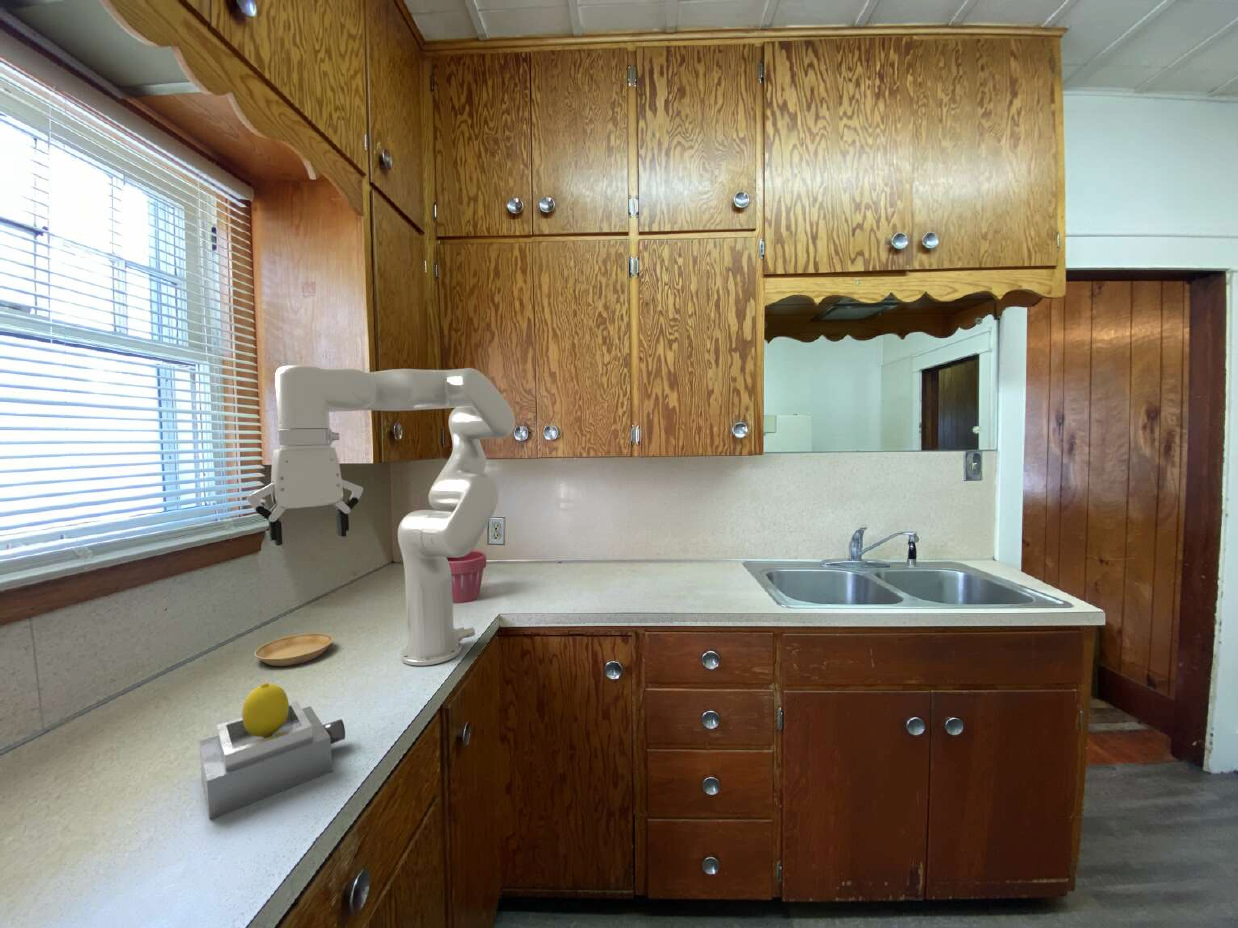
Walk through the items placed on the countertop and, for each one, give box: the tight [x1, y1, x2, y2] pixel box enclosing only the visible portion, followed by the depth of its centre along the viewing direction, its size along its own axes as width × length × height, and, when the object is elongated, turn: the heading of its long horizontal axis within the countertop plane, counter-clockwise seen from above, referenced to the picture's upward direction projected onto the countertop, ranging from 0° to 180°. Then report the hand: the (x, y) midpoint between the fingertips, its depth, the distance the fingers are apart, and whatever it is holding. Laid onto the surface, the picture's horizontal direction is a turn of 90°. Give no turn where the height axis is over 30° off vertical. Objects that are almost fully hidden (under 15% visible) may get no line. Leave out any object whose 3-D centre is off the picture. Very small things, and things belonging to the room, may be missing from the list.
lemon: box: [241, 682, 290, 738], centre depth 76 cm, size 6×6×8 cm
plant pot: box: [446, 549, 487, 604], centre depth 156 cm, size 14×14×13 cm
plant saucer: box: [254, 632, 334, 667], centre depth 118 cm, size 15×15×3 cm
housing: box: [198, 700, 346, 820], centre depth 77 cm, size 17×12×7 cm
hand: (311, 539), depth 92 cm, fingers open, 9 cm apart
